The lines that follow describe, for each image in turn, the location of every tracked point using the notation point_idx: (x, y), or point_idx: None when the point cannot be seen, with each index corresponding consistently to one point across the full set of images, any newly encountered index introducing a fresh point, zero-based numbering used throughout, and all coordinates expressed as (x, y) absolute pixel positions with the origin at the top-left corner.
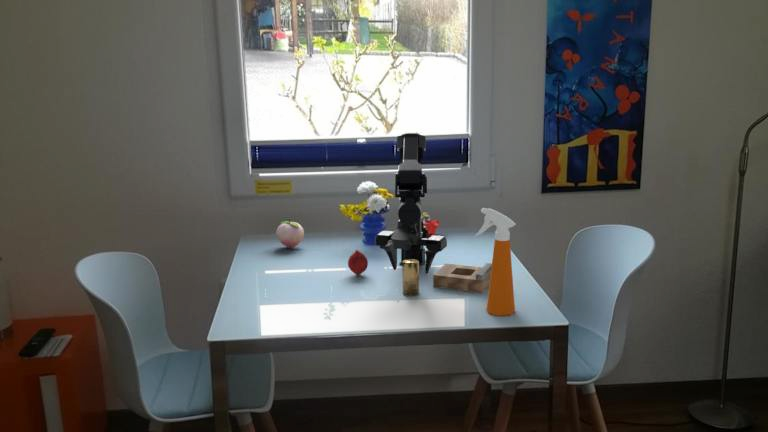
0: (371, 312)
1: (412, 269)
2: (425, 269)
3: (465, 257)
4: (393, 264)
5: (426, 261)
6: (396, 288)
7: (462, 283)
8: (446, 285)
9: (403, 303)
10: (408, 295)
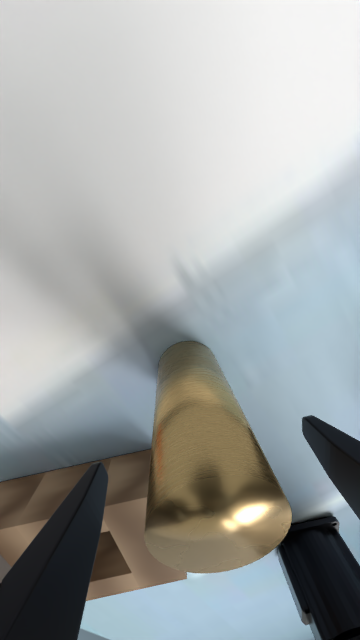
0: (211, 61)
1: (166, 447)
2: (85, 490)
3: (207, 608)
4: (343, 444)
5: (14, 603)
6: (256, 378)
7: (48, 495)
8: (111, 467)
9: (150, 265)
10: (180, 343)
